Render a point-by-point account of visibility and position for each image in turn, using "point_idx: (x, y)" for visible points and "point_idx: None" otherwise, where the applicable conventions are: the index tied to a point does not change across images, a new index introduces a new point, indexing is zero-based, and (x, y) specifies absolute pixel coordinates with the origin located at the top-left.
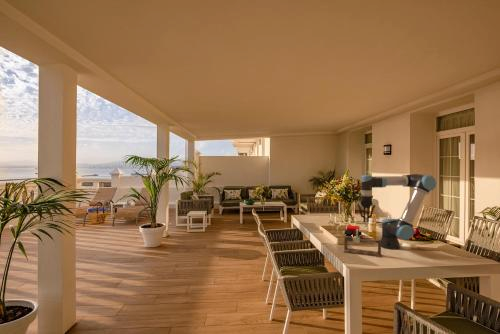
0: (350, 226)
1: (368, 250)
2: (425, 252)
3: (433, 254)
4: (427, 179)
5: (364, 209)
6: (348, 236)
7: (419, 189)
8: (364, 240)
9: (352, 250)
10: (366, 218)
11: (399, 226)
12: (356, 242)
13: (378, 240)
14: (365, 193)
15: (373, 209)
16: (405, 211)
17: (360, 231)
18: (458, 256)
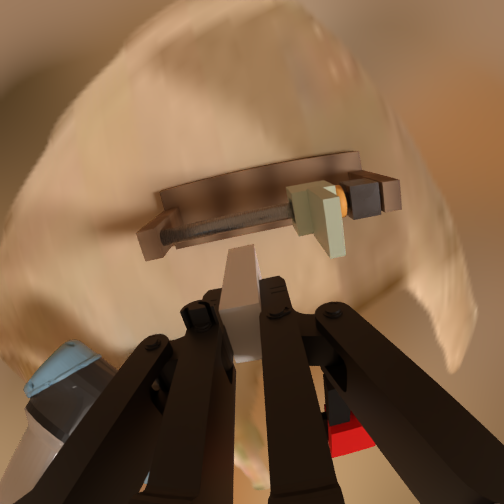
0: (366, 440)
1: (238, 235)
2: None
3: (53, 346)
4: None
5: (301, 482)
6: (378, 203)
7: None
8: (254, 209)
9: (318, 178)
10: (232, 306)
11: (61, 393)
12: (307, 183)
13: (152, 229)
14: None
15: (45, 470)
16: (37, 481)
17: None
18: (22, 353)
